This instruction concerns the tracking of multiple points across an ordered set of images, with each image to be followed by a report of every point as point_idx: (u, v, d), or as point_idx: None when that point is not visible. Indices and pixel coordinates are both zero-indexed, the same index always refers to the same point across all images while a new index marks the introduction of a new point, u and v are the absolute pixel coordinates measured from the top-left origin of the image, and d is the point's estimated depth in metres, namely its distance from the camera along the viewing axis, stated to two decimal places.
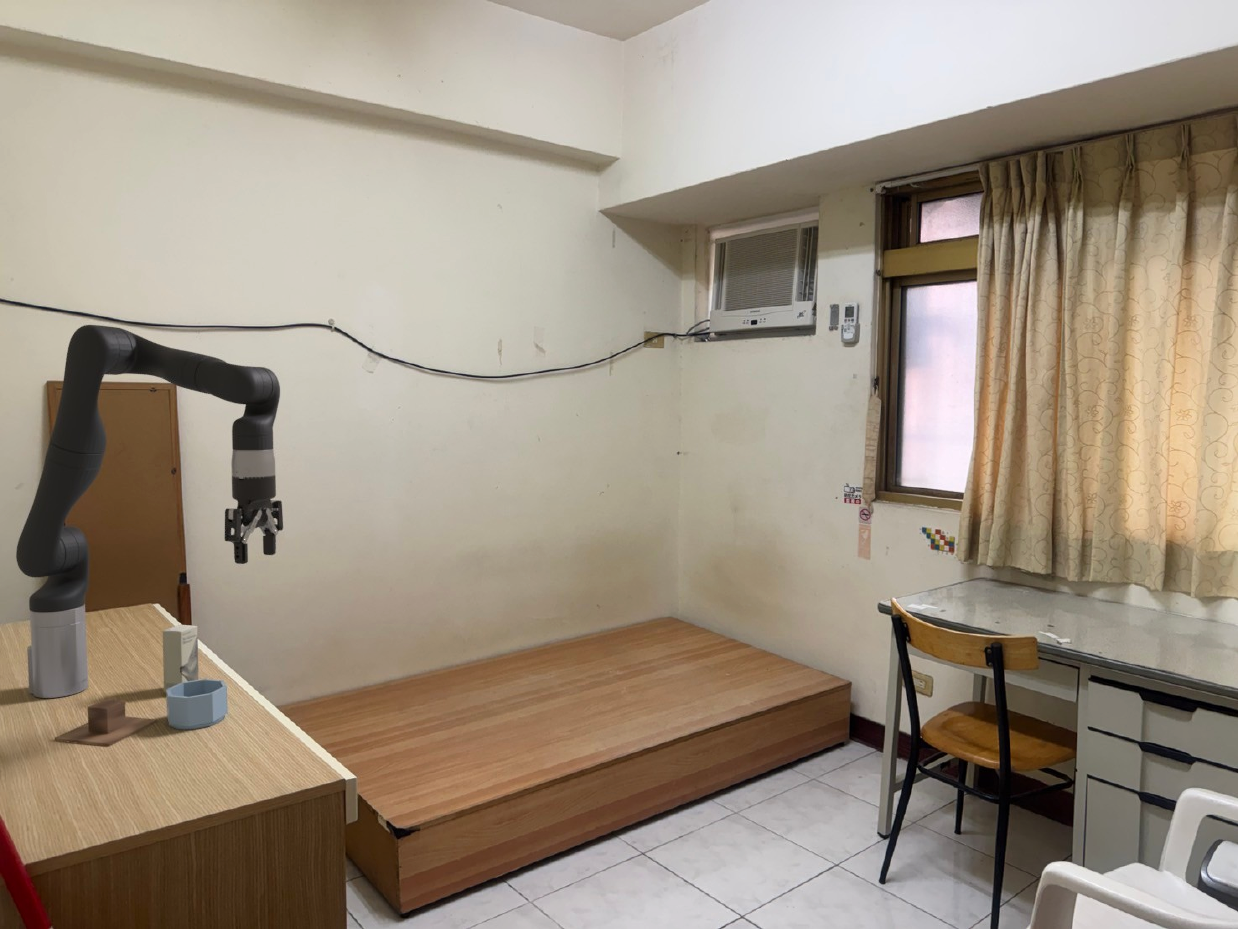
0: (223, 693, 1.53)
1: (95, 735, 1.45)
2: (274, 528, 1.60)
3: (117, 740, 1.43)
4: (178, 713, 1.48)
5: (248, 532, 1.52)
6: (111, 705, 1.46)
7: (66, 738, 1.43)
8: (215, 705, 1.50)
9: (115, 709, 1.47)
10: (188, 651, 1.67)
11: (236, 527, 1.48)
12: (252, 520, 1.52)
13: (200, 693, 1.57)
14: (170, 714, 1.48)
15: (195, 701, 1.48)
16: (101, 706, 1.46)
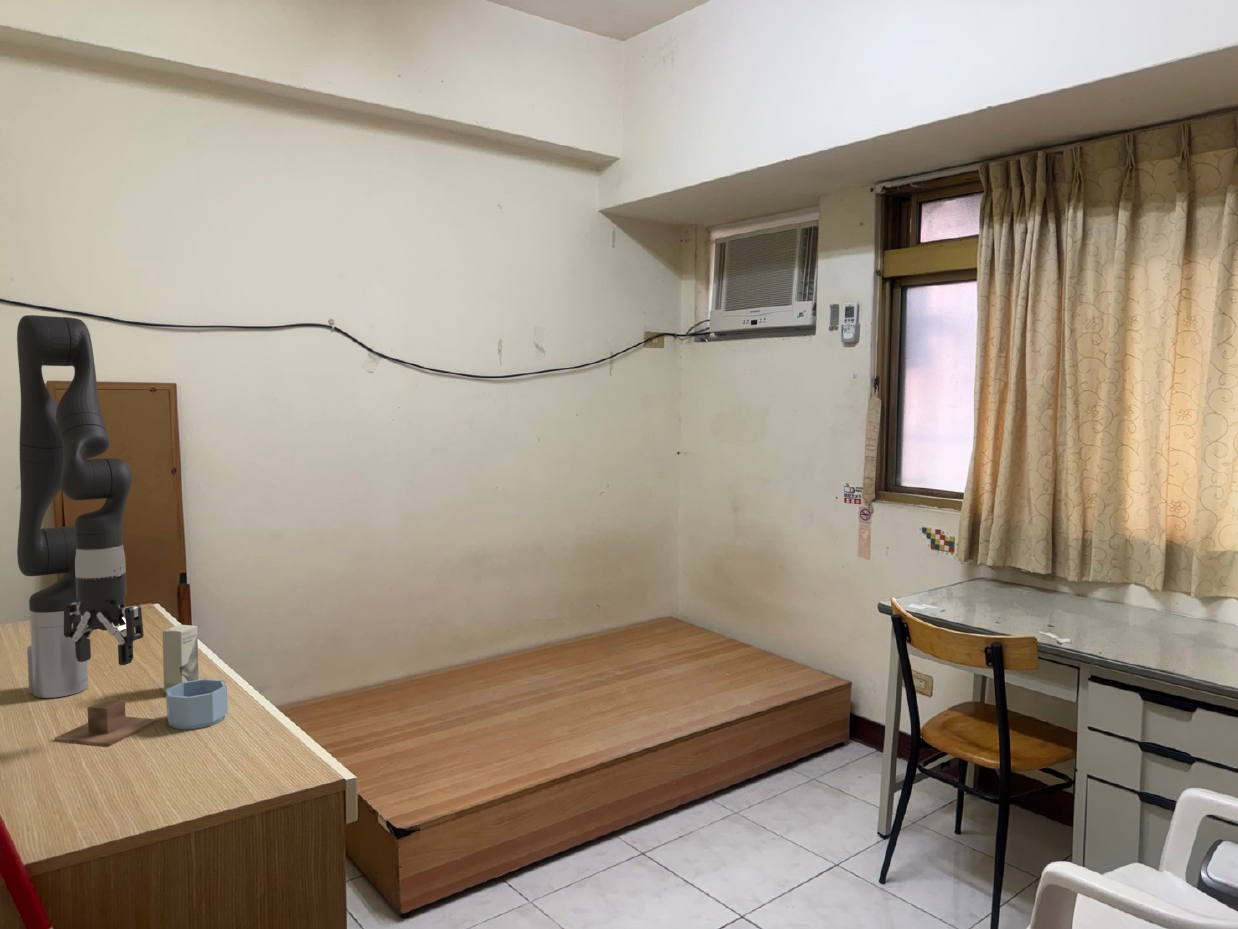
0: (223, 693, 1.53)
1: (95, 735, 1.45)
2: None
3: (117, 740, 1.43)
4: (178, 713, 1.48)
5: None
6: (111, 705, 1.46)
7: (66, 738, 1.43)
8: (215, 705, 1.50)
9: (115, 709, 1.47)
10: (188, 651, 1.67)
11: (142, 623, 1.46)
12: (123, 617, 1.47)
13: (200, 693, 1.57)
14: (170, 714, 1.48)
15: (195, 701, 1.48)
16: (101, 706, 1.46)
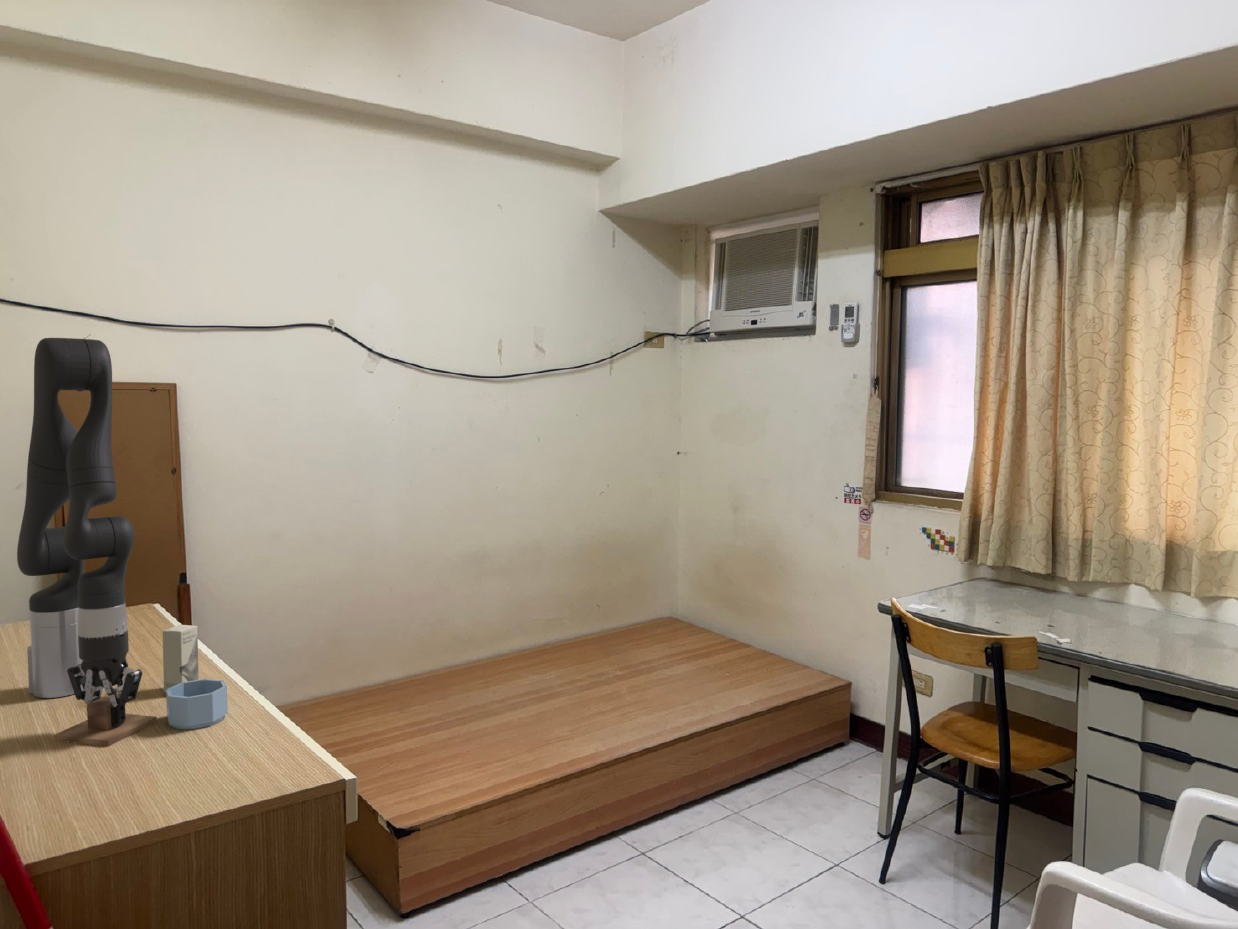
0: (223, 693, 1.53)
1: (95, 732, 1.45)
2: None
3: (116, 737, 1.43)
4: (178, 713, 1.48)
5: None
6: (110, 702, 1.46)
7: (65, 735, 1.43)
8: (215, 705, 1.50)
9: None
10: (188, 651, 1.67)
11: (138, 687, 1.47)
12: (123, 677, 1.48)
13: (200, 693, 1.57)
14: (170, 714, 1.48)
15: (195, 701, 1.48)
16: (100, 703, 1.46)
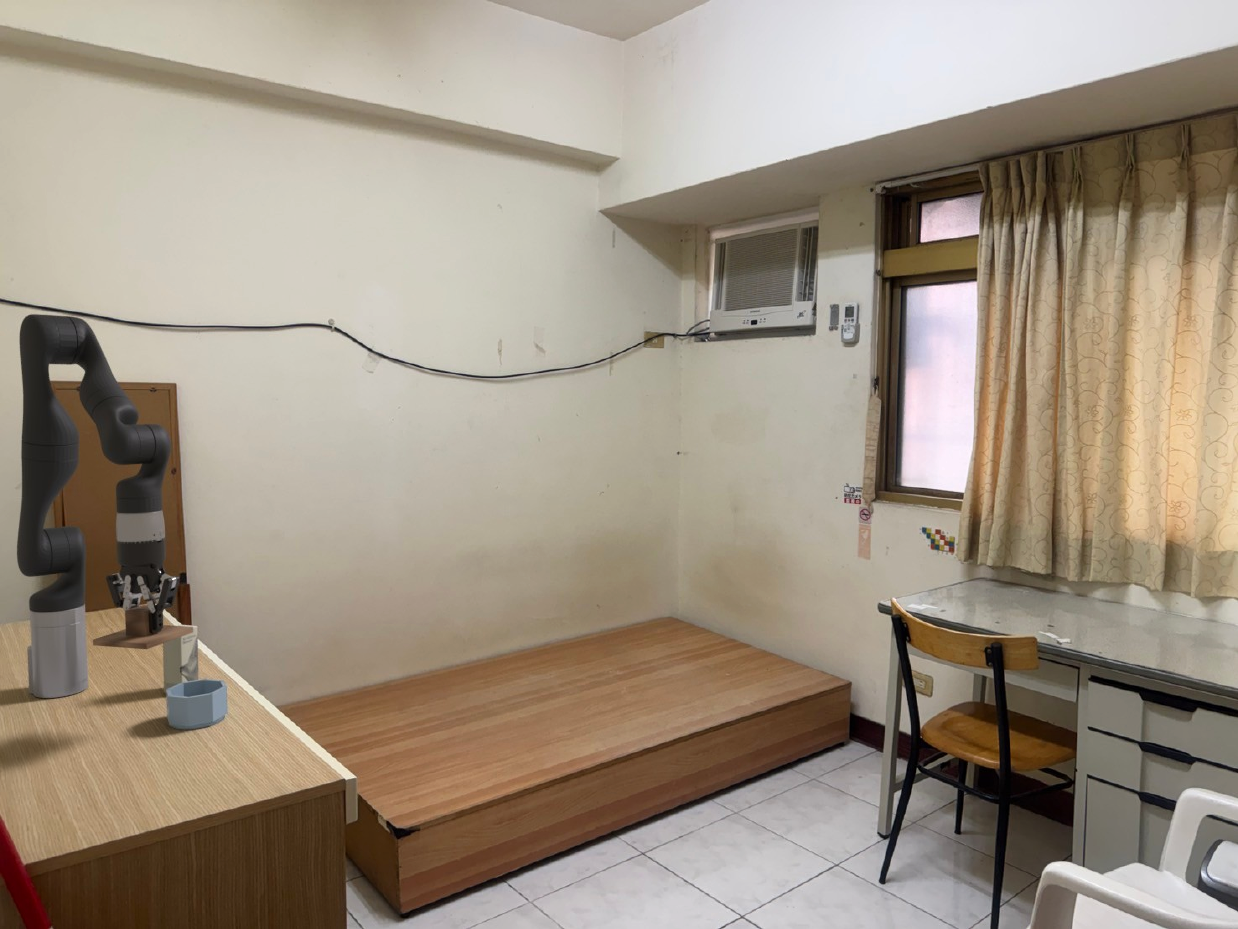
0: (223, 693, 1.53)
1: (133, 637, 1.45)
2: None
3: (154, 641, 1.43)
4: (178, 713, 1.48)
5: None
6: (148, 609, 1.47)
7: (104, 640, 1.44)
8: (215, 705, 1.50)
9: None
10: (188, 651, 1.67)
11: (175, 594, 1.47)
12: (160, 584, 1.48)
13: (200, 693, 1.57)
14: (170, 714, 1.48)
15: (195, 701, 1.48)
16: (138, 610, 1.47)
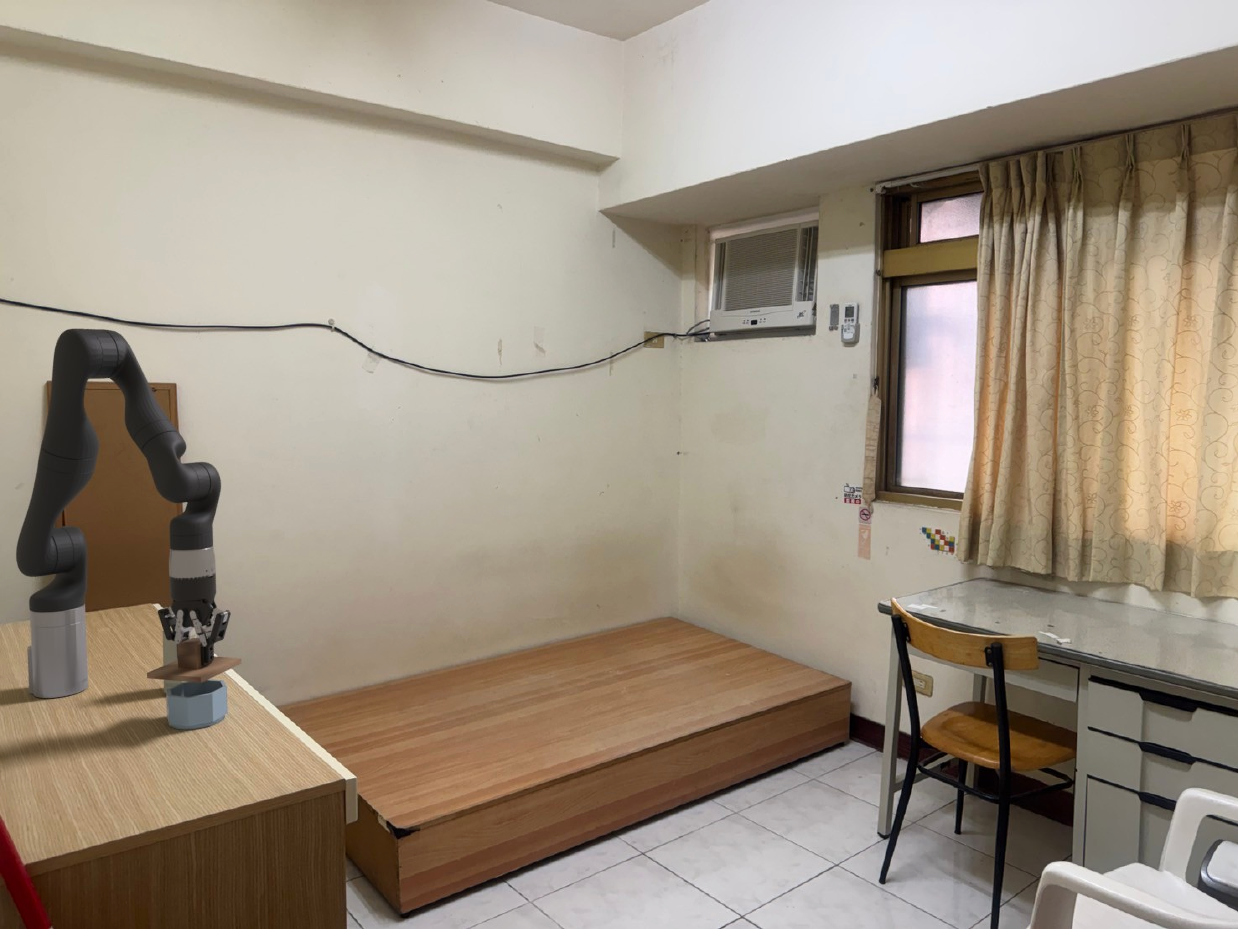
0: (223, 693, 1.53)
1: (185, 670, 1.49)
2: None
3: (208, 674, 1.47)
4: (178, 713, 1.48)
5: None
6: (199, 642, 1.51)
7: (158, 673, 1.47)
8: (215, 705, 1.50)
9: None
10: None
11: (226, 628, 1.51)
12: (211, 618, 1.52)
13: (200, 693, 1.57)
14: (170, 714, 1.48)
15: (195, 701, 1.48)
16: (190, 643, 1.50)
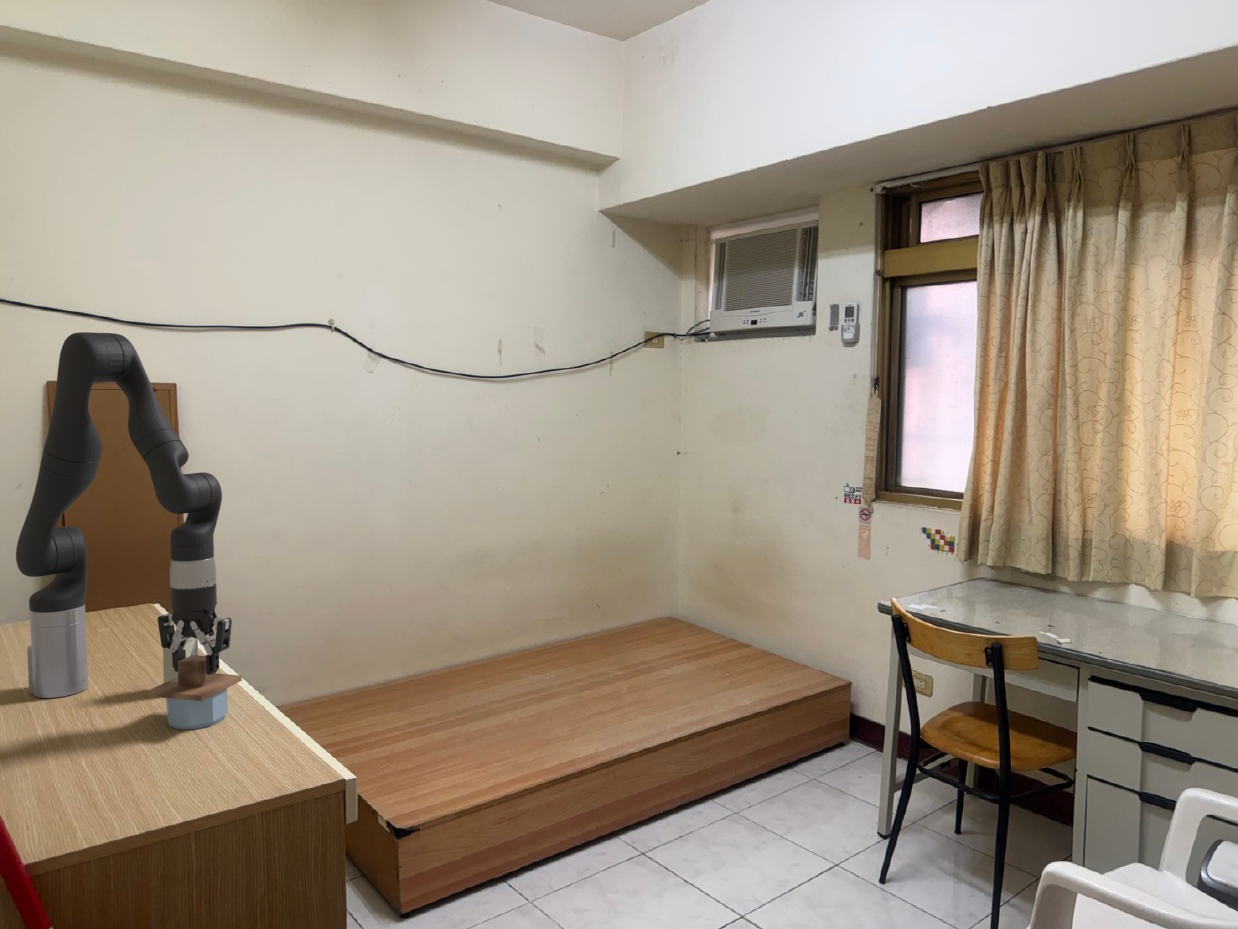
0: (223, 693, 1.53)
1: (186, 688, 1.49)
2: None
3: (208, 693, 1.48)
4: (178, 713, 1.48)
5: None
6: (200, 660, 1.51)
7: (158, 691, 1.48)
8: (215, 705, 1.50)
9: (204, 664, 1.52)
10: (188, 651, 1.67)
11: None
12: (213, 627, 1.53)
13: None
14: (170, 714, 1.48)
15: (195, 701, 1.48)
16: (190, 661, 1.51)
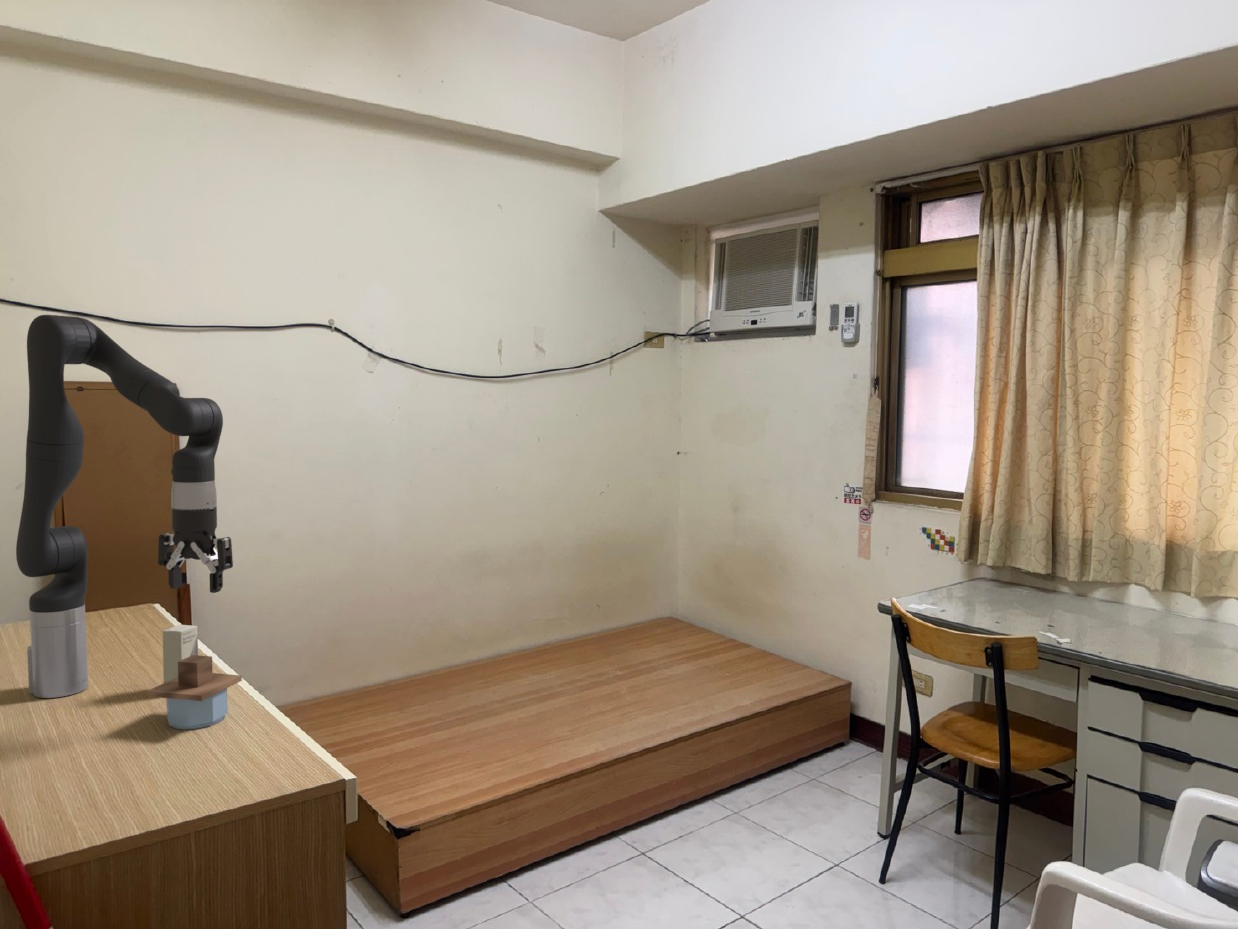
0: (223, 693, 1.53)
1: (186, 688, 1.49)
2: None
3: (208, 693, 1.48)
4: (178, 713, 1.48)
5: None
6: (200, 660, 1.51)
7: (158, 691, 1.48)
8: (215, 705, 1.50)
9: (204, 664, 1.52)
10: (188, 651, 1.67)
11: (231, 554, 1.55)
12: (214, 548, 1.56)
13: None
14: (170, 714, 1.48)
15: (195, 701, 1.48)
16: (190, 661, 1.51)
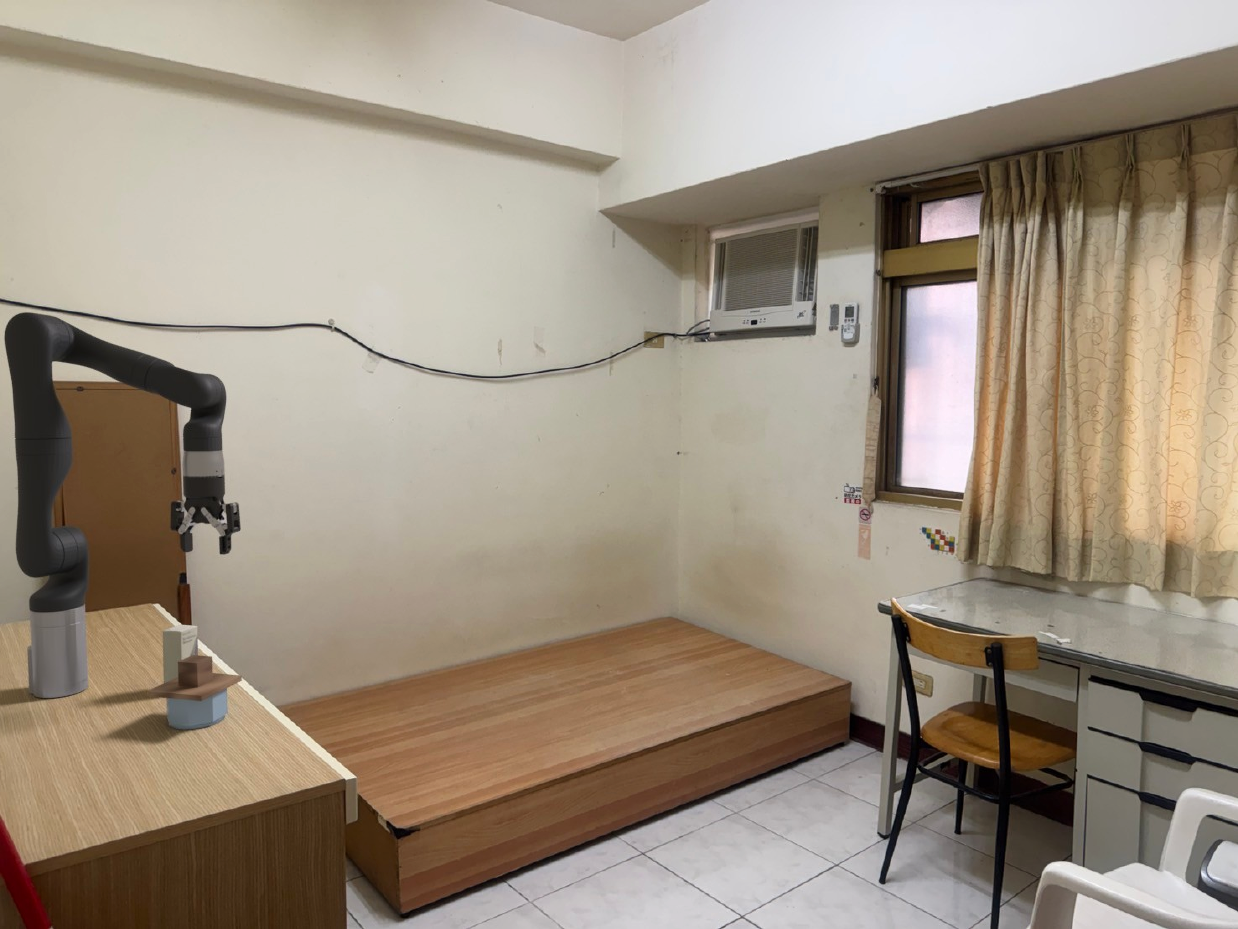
0: (223, 693, 1.53)
1: (186, 688, 1.49)
2: None
3: (208, 693, 1.48)
4: (178, 713, 1.48)
5: None
6: (200, 660, 1.51)
7: (158, 691, 1.48)
8: (215, 705, 1.50)
9: (204, 664, 1.52)
10: (188, 651, 1.67)
11: (239, 518, 1.66)
12: (222, 514, 1.67)
13: None
14: (170, 714, 1.48)
15: (195, 701, 1.48)
16: (190, 661, 1.51)
